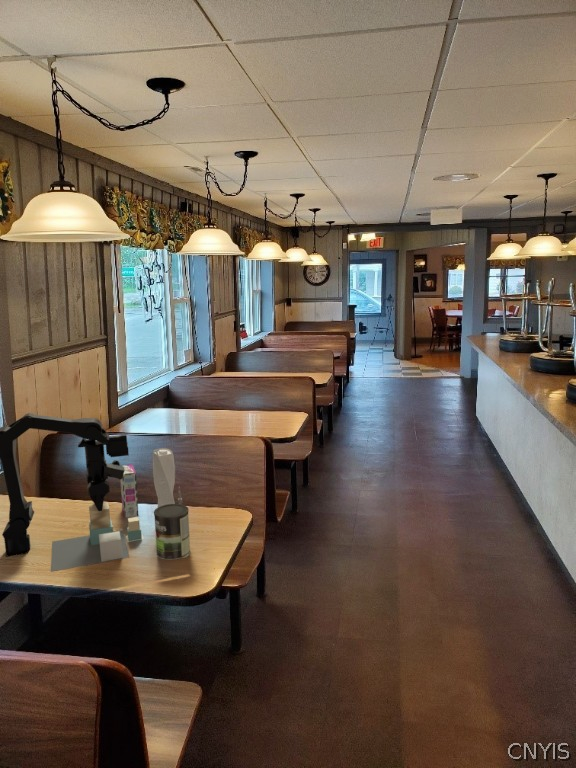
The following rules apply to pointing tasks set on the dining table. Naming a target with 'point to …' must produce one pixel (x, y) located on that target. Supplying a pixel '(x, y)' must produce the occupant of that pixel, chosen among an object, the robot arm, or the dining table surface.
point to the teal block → (95, 533)
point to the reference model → (134, 530)
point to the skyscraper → (164, 476)
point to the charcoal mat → (79, 552)
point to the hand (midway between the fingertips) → (99, 505)
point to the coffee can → (172, 531)
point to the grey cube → (110, 546)
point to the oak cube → (99, 516)
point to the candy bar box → (129, 492)
